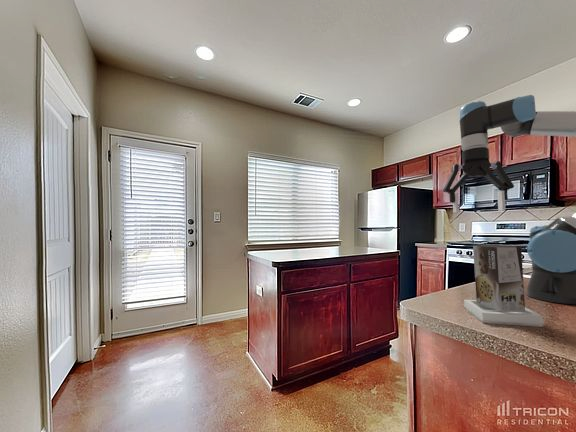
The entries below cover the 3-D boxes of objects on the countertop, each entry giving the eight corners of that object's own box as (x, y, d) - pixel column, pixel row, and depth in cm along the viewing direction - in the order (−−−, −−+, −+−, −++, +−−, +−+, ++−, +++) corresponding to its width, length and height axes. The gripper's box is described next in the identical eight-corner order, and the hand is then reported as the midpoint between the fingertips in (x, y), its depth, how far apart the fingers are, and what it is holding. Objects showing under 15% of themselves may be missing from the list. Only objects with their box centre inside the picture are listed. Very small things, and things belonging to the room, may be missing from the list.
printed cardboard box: (527, 312, 65) (523, 246, 66) (500, 312, 65) (496, 246, 66) (498, 301, 74) (495, 243, 75) (475, 302, 74) (472, 244, 75)
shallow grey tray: (514, 311, 74) (514, 301, 74) (543, 327, 62) (542, 316, 62) (464, 308, 77) (464, 299, 77) (482, 322, 65) (482, 312, 65)
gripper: (510, 149, 91) (515, 210, 90) (431, 155, 97) (434, 213, 96) (524, 142, 84) (529, 209, 83) (438, 149, 90) (441, 212, 88)
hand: (478, 211), depth 89 cm, fingers open, 13 cm apart
